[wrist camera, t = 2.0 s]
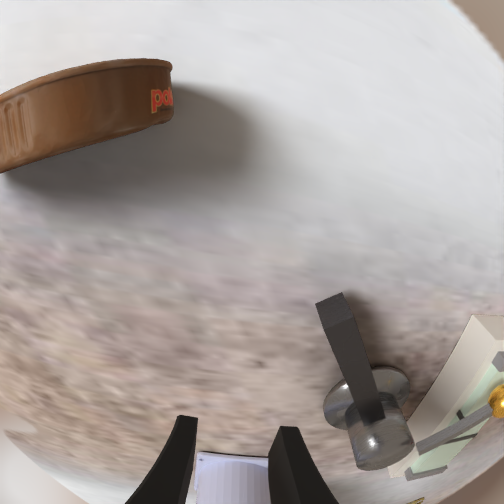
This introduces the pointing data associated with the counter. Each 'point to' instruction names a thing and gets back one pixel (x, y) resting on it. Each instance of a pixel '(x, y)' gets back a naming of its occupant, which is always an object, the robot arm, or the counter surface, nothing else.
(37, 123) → the tin
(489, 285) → the counter surface
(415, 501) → the tongs
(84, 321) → the counter surface
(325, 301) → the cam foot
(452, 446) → the level stand
